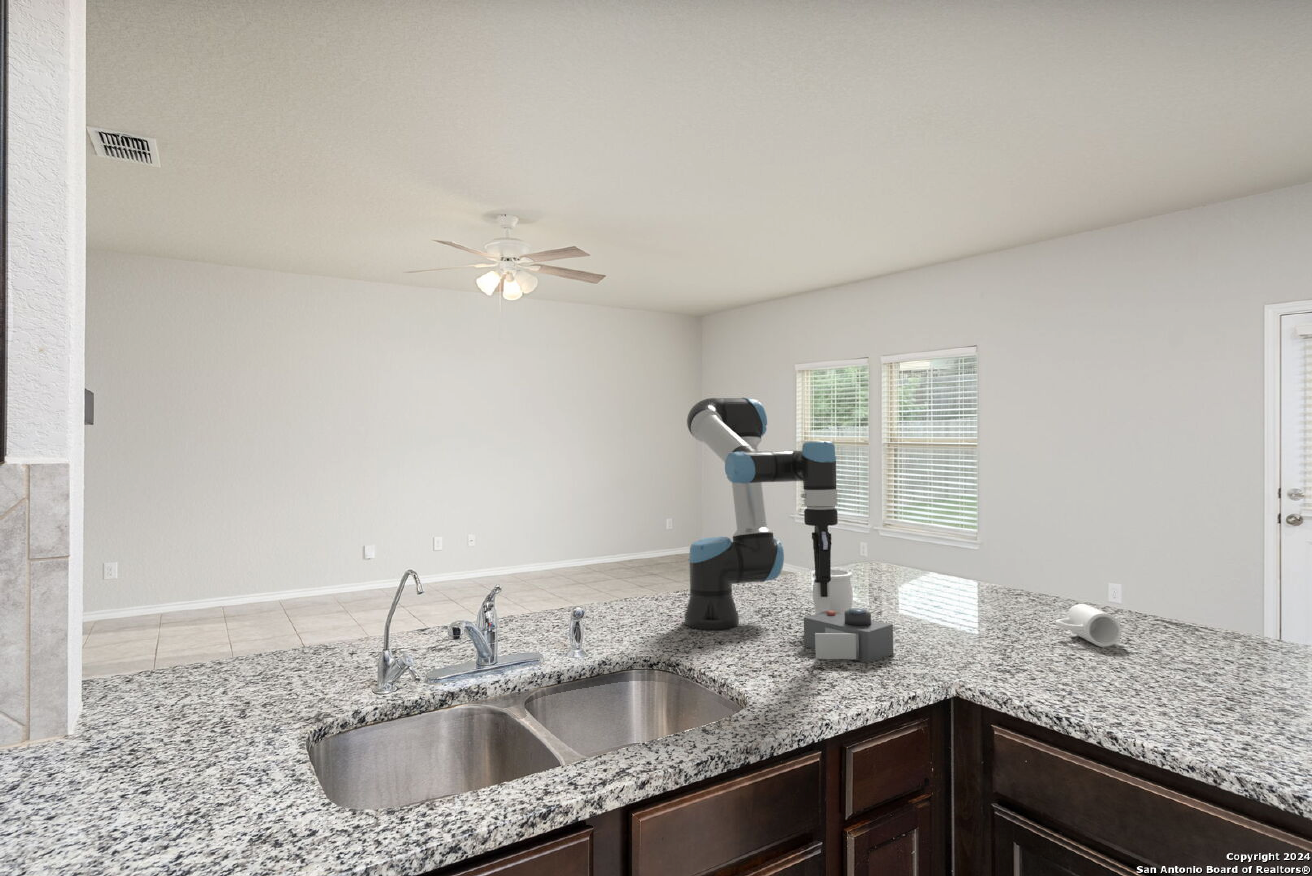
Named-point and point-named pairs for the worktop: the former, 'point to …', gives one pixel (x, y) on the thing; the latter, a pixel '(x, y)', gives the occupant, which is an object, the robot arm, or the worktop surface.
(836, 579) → the jar
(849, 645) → the side door
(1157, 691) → the worktop surface
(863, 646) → the camera body
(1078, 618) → the mug
